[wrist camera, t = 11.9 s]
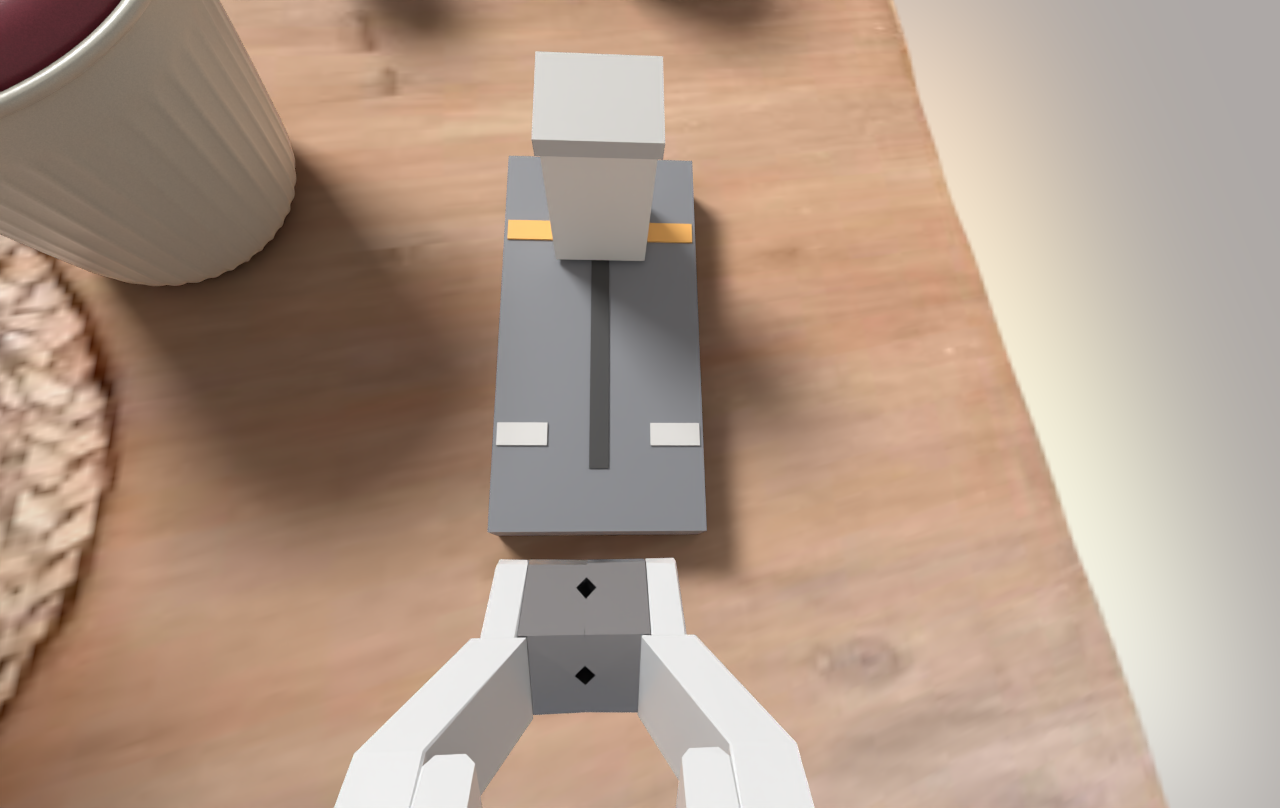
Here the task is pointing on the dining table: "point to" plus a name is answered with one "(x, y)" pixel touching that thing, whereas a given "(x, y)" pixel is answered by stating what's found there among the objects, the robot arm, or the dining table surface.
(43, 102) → the canister
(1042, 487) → the dining table surface
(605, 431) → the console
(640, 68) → the fader tab
